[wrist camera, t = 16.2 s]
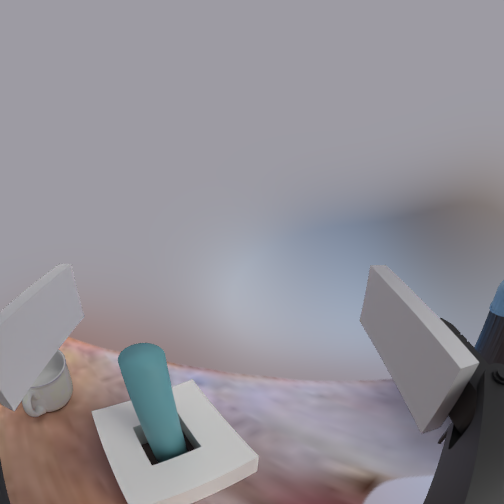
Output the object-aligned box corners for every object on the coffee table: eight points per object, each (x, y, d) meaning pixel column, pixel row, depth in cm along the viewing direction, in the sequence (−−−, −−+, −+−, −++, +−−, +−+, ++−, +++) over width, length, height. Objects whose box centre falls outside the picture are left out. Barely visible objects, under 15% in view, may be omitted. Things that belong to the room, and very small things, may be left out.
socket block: (257, 471, 28) (258, 456, 26) (142, 520, 19) (131, 509, 17) (195, 398, 40) (192, 379, 38) (101, 429, 31) (91, 411, 29)
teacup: (39, 374, 38) (24, 340, 35) (86, 381, 40) (72, 345, 37) (13, 427, 25) (-11, 392, 22) (66, 442, 27) (42, 407, 24)
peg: (194, 460, 29) (172, 364, 23) (164, 472, 26) (125, 379, 20) (179, 437, 32) (155, 338, 26) (150, 448, 30) (113, 349, 24)
